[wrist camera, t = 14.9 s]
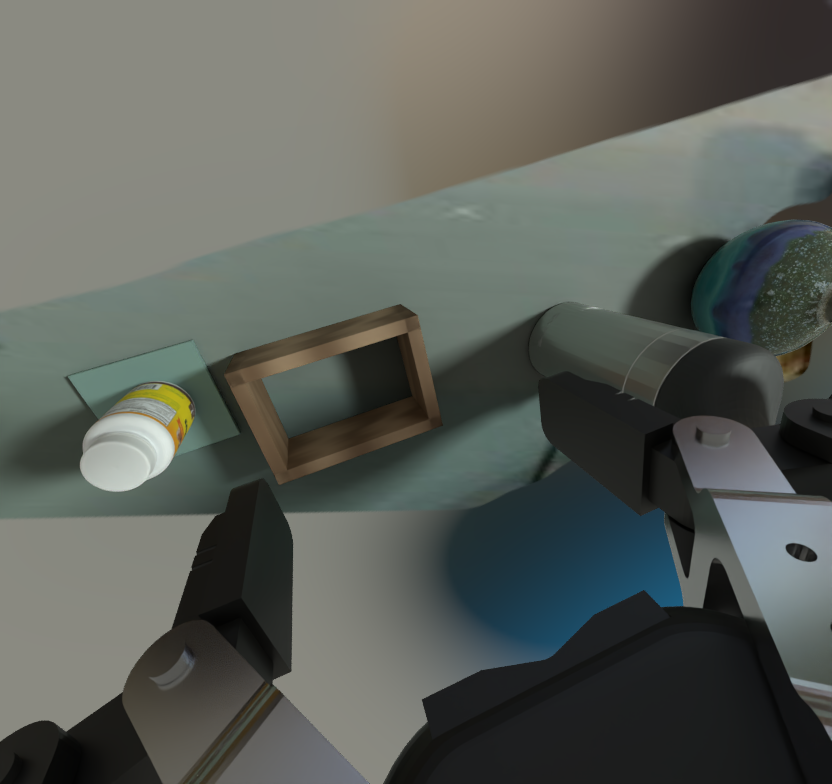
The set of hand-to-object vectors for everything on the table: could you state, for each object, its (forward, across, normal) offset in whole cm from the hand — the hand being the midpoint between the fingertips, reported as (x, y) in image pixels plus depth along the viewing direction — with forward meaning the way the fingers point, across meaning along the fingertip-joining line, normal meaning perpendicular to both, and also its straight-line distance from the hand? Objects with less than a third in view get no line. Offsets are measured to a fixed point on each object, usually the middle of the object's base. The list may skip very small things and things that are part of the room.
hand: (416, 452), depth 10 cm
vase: (+28, -48, +12) cm, 57 cm away
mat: (+28, +18, +5) cm, 34 cm away
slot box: (+28, +2, +8) cm, 29 cm away
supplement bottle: (+28, +18, +5) cm, 33 cm away
